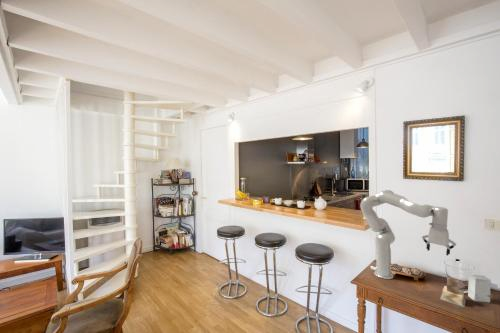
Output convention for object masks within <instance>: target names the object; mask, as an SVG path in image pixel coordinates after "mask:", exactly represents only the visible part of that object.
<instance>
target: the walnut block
mask: <svg viewBox="0 0 500 333" xmlns="http://www.w3.org/2000/svg"><path fill="white" fill-rule="evenodd" d="M446 286H447V291H449V292H452V293H455V294H458V292H459V290H460V288H459V280H458V279H454V278H451V276H447V279H446Z"/></svg>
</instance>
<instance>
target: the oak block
mask: <svg viewBox="0 0 500 333" xmlns="http://www.w3.org/2000/svg"><path fill="white" fill-rule="evenodd" d="M441 295H442V299H444V300H447V301H450V302H453V303H456V304H459V305H462V304H463V299H465V298H464V296H465V295H464V290H461V289H459V292H458V294H455V293H452V292H449V291H447V285H444V286H443V288H442V293H441ZM444 300H443V301H444ZM447 301H446V302H447ZM450 302H449V303H450ZM453 303H452V304H453ZM456 304H455V305H456ZM459 305H458V306H459Z"/></svg>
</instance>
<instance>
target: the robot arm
mask: <svg viewBox="0 0 500 333" xmlns="http://www.w3.org/2000/svg"><path fill="white" fill-rule="evenodd" d="M383 204H389V205H390V206H394V207H396V208H399V209H401V210H403V211H404V212H406V213H408V214H411V215H413V216H416V217H420V218H428V217H432V221H431V222H429V224H428V225H429V226H430V227H429V230H428V234H425V235H423V236H421V238H422V240H423V242H425V244H426V249H427V250H426V251H430V248H431V244H434V245H439V246H443V247H446V252H445V253H446V254H445V255H446V256H449V255H450V254H451V250H452V249H453V248H454V247H456V245H457V243H456V242H454V240H451V239H450V233H449V230H448V215H449V210H448V208H447V207H443V206H434V205H430V204H422V205H421V204H418V203H415V202H412V201H411V200H409V199H408V198H407V197H405V196H404V195H399V194H397V193H394V191H392V190H390V189H385V190H382V191H380V192H379V193H377V194H374V195H370V196H365V197H364V198H362V200H361V201H360V205H359V208H360V211H361V213H362V214H363V216H364V218H365V220H366V221H367V224H368V226H369V228H370V229H371V231H373V232H374V233H378V234H377V235H376V237H375V240H374V241H375V250H376V256H375V257H376V259H375V260H376V264H375V265H376V266H373V265H370V269H371V270H373V275H375V276H376V277H378V278H380V279H385V280H391V279H394V274H393V273H392V267H391V266H392V251H391V245H392V244H393V243H394V242H395V240H396V236H395V234H394V232H393V230H392V228H391V227H390V225H389V223H388V222H387V220H385V219H384V218H382V217H379V216H378V215H377V212H376V211H375V210H374V209H373V208H374V207H377V206H381V205H383ZM449 243H450V244H451V245H449Z"/></svg>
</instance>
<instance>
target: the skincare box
mask: <svg viewBox="0 0 500 333" xmlns="http://www.w3.org/2000/svg"><path fill="white" fill-rule="evenodd" d="M467 276H468V277H467V278H468V284H467V285H468V287H467V288H468V290H467V293H468V294H467V297H469V298H470V299H471V300H473V301H474V302H481V303H483V302H484V303H491V281H492V280H491V279H490V278H489V277H486V276H485V275H481V274H479V275H478V274H471V273H468V275H467Z"/></svg>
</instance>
